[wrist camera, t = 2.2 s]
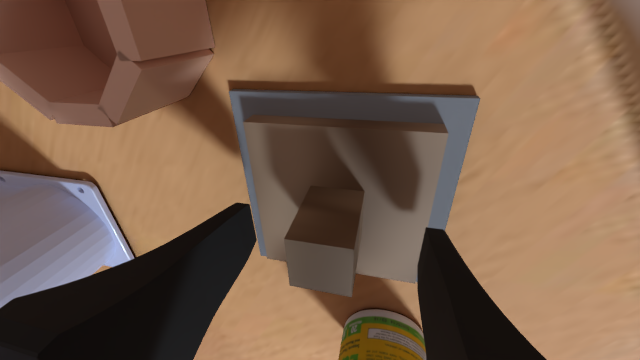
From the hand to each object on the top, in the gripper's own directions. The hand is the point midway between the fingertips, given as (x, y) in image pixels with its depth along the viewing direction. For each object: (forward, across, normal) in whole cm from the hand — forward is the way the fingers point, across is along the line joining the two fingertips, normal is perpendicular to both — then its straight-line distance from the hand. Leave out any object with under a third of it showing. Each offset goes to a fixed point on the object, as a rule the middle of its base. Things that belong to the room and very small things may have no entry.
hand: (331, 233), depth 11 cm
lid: (+3, 0, 0) cm, 3 cm away
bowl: (+3, +9, -8) cm, 12 cm away
